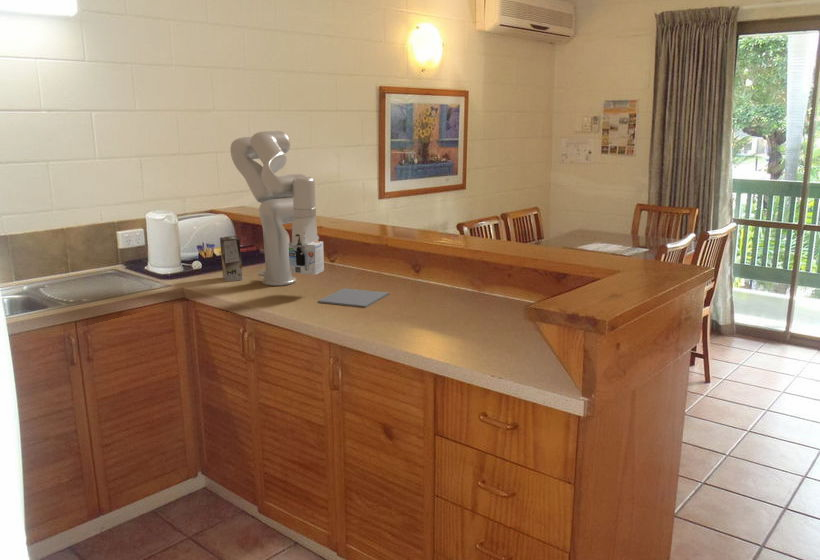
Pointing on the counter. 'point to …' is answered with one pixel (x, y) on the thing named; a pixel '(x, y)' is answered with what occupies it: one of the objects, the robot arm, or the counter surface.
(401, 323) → the counter surface
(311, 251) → the light bulb box
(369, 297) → the mat
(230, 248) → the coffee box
